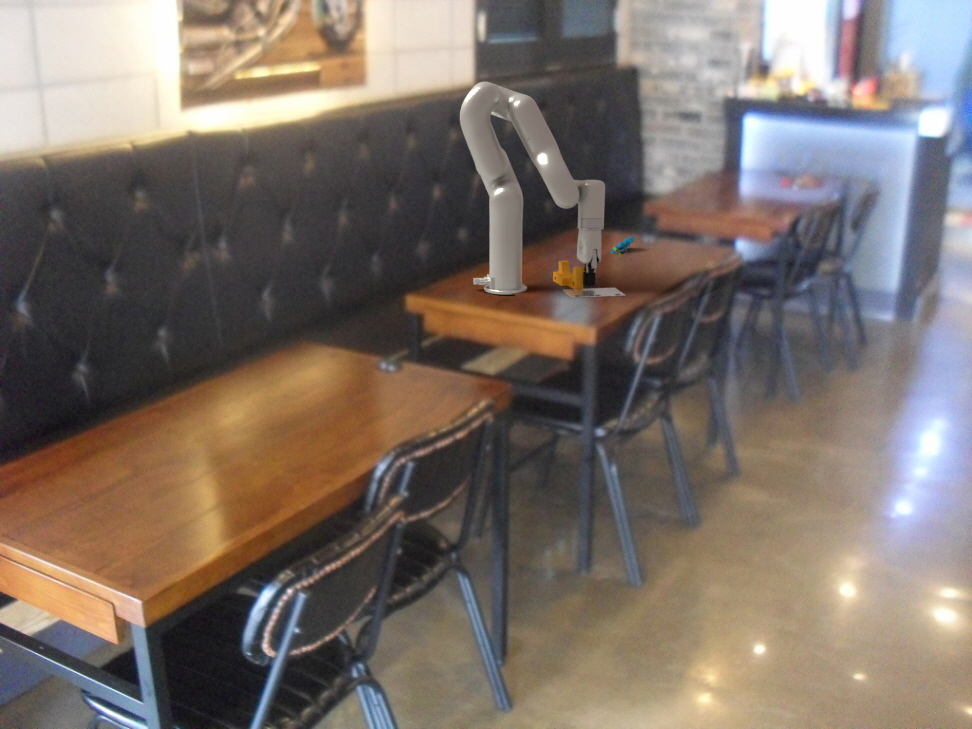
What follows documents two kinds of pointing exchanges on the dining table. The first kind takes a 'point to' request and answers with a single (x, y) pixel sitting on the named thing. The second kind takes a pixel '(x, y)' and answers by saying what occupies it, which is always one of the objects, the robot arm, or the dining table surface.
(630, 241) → the gear
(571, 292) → the door panel
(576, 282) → the pipe clamp
